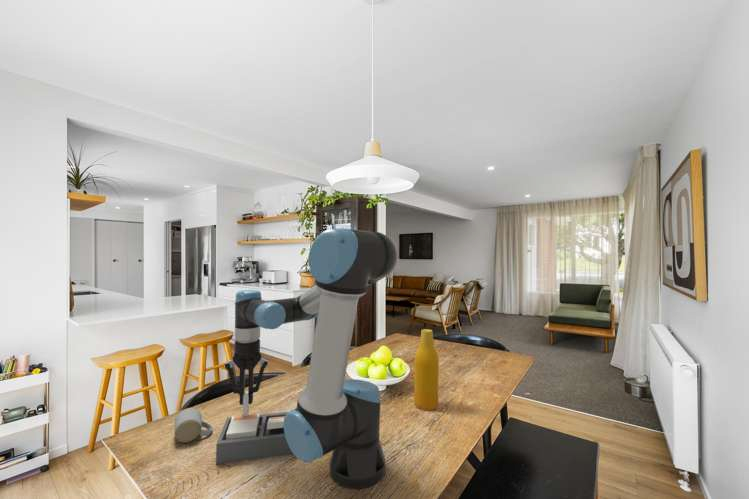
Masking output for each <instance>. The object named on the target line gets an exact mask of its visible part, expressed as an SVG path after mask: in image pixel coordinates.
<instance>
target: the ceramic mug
mask: <svg viewBox="0 0 749 499" xmlns="http://www.w3.org/2000/svg"><path fill="white" fill-rule="evenodd" d="M202 418H203V416H202V413H201V412H200V410H198V409H197V408H195V407H187V408H185V409H183V410H181V411H180V412H179V413H178V414H177V415H176V417H175V419H174V436H175V438H176V440H177V442H179V443H184V444H185V443H191V442H193V441H195V440H196V439H197V438H198V436H202V437H204V436H205V437H207V436H210V435H211V433H212V431H213V426H212V425H211V424H210V423H208V422H206V421H203V420H202ZM202 428H205V429H206V430H203V429H202Z"/></svg>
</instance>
